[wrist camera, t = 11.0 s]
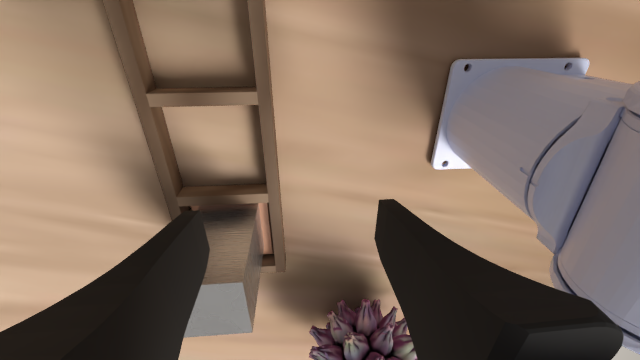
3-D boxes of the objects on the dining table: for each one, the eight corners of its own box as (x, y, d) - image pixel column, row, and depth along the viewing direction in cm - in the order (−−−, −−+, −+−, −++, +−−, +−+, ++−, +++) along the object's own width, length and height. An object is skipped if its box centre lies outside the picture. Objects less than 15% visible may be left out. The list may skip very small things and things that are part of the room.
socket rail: (260, -56, 15) (256, -63, 14) (285, 259, 27) (285, 271, 25) (100, -58, 15) (81, -65, 14) (195, 264, 26) (190, 277, 25)
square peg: (258, 202, 23) (242, 282, 16) (264, 246, 25) (252, 332, 18) (199, 205, 23) (158, 287, 16) (210, 249, 25) (178, 337, 18)
